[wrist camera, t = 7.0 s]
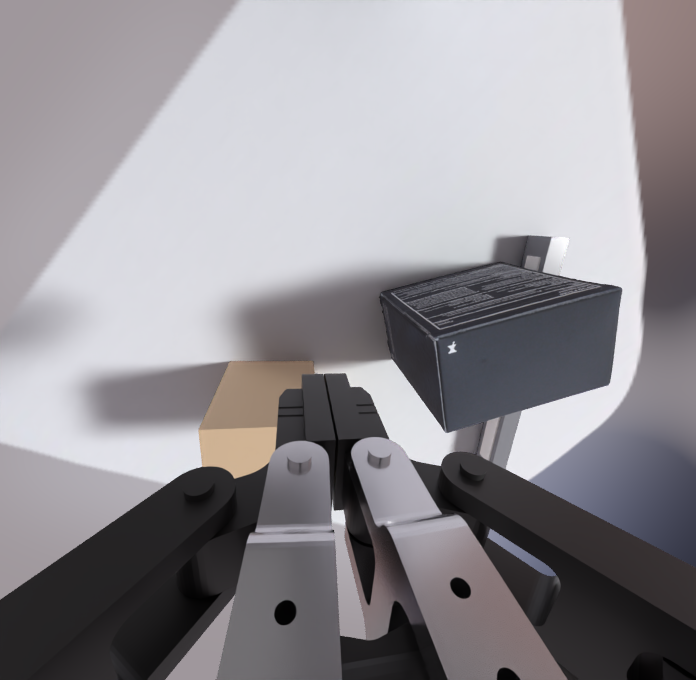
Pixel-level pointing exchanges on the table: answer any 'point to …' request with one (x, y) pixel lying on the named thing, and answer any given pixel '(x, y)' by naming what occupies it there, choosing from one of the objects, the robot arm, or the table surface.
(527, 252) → the rail
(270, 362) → the kraft carton
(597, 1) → the table surface
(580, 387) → the small box
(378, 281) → the table surface
